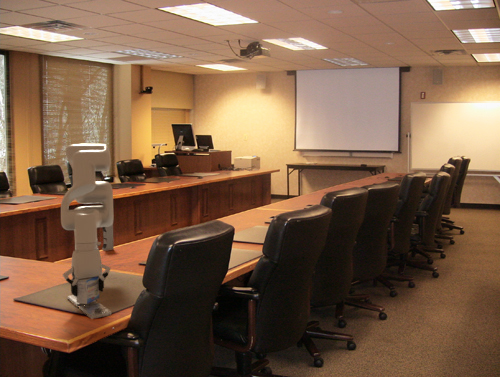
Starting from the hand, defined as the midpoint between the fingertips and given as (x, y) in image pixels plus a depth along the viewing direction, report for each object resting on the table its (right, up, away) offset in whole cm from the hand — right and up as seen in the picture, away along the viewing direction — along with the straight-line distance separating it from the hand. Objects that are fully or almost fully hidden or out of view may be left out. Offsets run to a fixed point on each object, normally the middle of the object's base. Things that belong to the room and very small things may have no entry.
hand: (87, 293), depth 188 cm
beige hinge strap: (0, -5, 0) cm, 5 cm away
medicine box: (0, -3, 0) cm, 3 cm away
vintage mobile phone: (-19, +4, +97) cm, 99 cm away
